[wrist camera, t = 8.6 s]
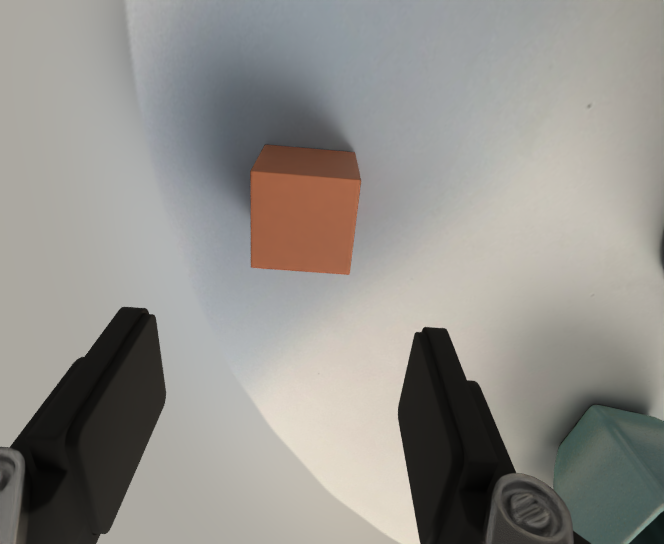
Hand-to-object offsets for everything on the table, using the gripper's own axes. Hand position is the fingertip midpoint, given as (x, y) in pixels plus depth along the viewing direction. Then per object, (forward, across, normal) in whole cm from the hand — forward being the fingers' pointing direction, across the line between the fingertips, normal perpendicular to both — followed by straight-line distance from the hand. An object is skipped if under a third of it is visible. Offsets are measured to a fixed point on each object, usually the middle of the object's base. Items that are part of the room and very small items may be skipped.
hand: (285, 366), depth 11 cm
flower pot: (+14, -23, +17) cm, 31 cm away
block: (+14, 0, 0) cm, 14 cm away
